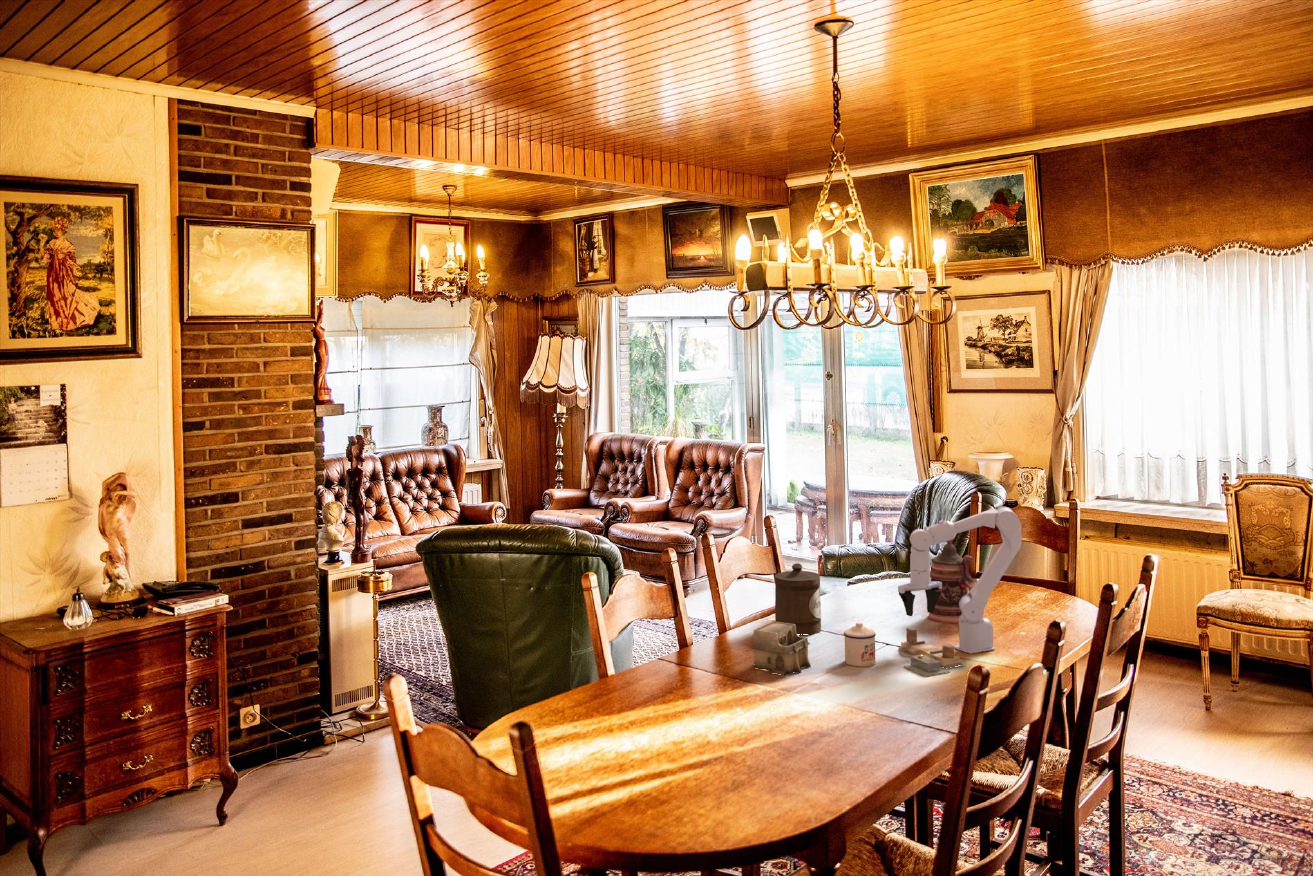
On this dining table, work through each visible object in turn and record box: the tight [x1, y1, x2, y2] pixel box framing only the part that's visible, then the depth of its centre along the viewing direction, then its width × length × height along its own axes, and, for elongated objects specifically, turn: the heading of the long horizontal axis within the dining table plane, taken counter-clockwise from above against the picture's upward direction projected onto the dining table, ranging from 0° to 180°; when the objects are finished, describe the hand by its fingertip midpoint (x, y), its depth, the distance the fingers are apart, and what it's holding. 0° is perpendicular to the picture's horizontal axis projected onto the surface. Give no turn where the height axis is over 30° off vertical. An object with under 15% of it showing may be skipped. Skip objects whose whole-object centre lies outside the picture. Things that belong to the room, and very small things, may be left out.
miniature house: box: [751, 620, 812, 677], centre depth 284 cm, size 15×14×11 cm
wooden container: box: [774, 562, 822, 636], centre depth 323 cm, size 15×15×22 cm
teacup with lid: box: [843, 621, 876, 668], centre depth 287 cm, size 12×9×12 cm
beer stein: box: [926, 539, 977, 624], centre depth 330 cm, size 17×28×18 cm
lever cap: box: [910, 654, 940, 673], centre depth 277 cm, size 8×4×3 cm, turn 22°
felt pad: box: [903, 664, 950, 677], centre depth 277 cm, size 8×10×1 cm
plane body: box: [898, 627, 964, 670], centre depth 288 cm, size 22×6×6 cm, turn 22°
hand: (920, 614), depth 297 cm, fingers open, 7 cm apart
